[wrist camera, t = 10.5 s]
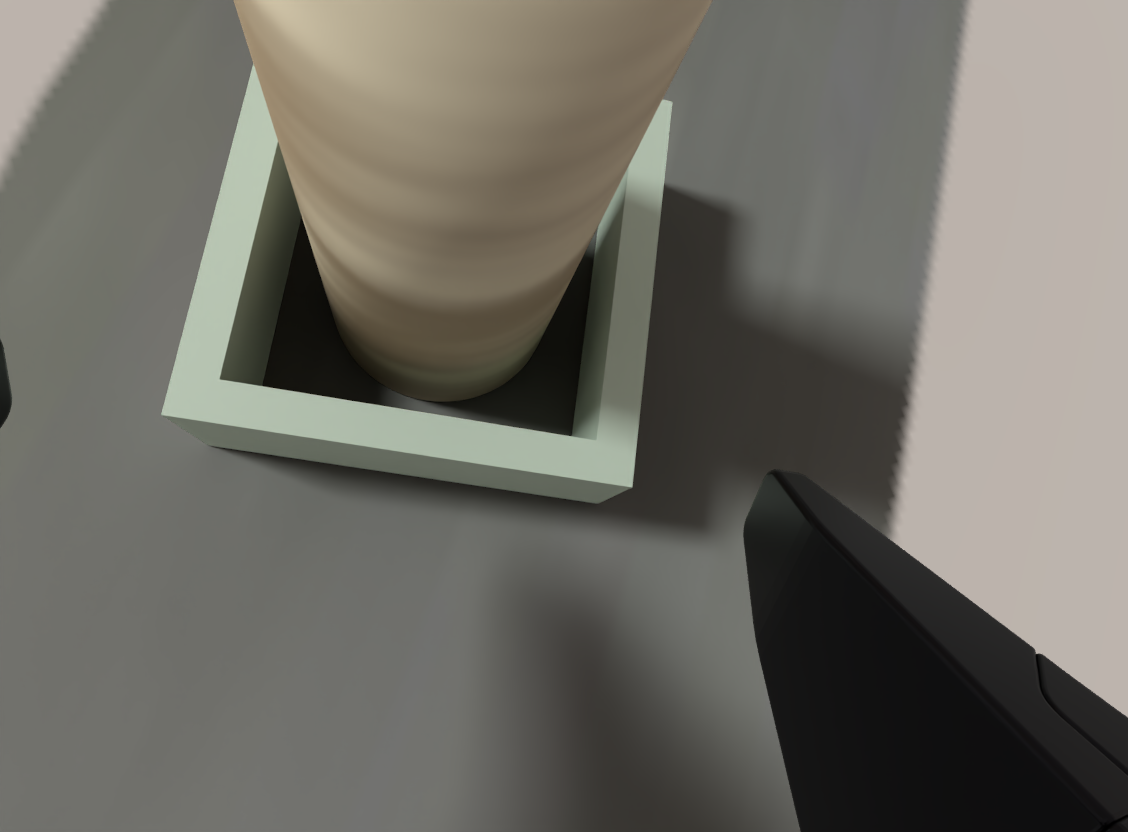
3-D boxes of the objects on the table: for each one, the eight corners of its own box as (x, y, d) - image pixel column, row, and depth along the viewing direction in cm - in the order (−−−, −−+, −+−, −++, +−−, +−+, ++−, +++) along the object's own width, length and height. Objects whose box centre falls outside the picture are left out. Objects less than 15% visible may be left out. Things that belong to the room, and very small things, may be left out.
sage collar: (597, 503, 17) (632, 487, 14) (208, 445, 16) (161, 414, 13) (635, 173, 19) (672, 102, 17) (293, 99, 18) (268, 7, 15)
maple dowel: (582, 349, 18) (944, -164, 6) (389, 437, 17) (308, 22, 4) (490, 173, 19) (635, -647, 6) (295, 246, 17) (-13, -612, 5)
